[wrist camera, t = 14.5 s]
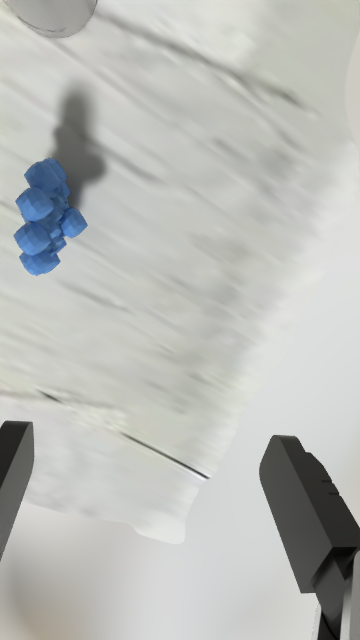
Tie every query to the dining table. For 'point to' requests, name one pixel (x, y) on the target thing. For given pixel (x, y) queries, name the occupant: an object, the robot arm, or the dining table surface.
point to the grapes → (46, 217)
